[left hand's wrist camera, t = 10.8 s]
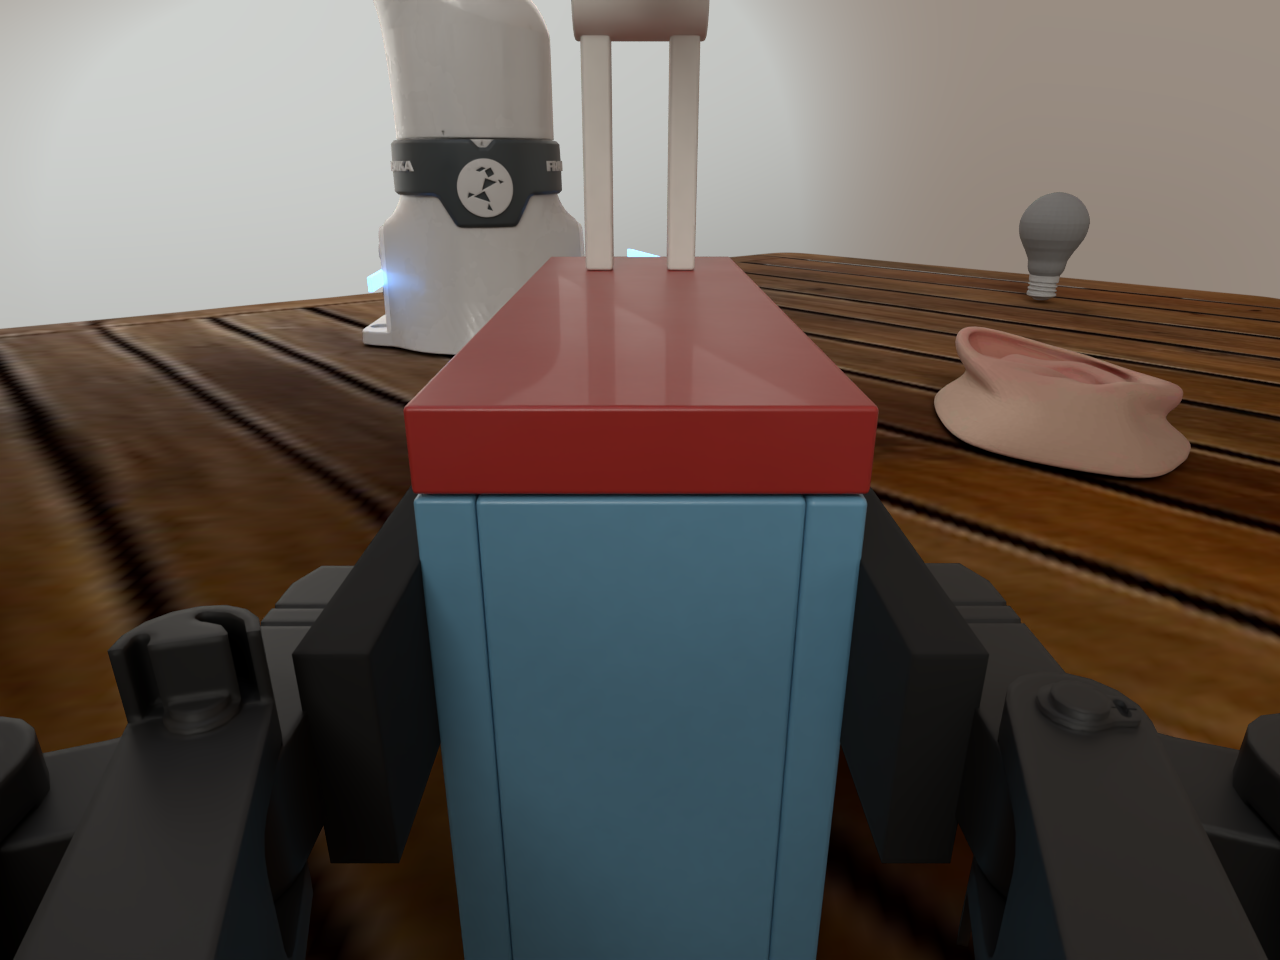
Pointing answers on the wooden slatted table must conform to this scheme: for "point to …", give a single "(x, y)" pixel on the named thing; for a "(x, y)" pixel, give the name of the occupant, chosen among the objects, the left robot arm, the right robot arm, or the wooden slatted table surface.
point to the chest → (640, 717)
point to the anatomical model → (1060, 408)
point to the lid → (640, 343)
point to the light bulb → (1051, 239)
